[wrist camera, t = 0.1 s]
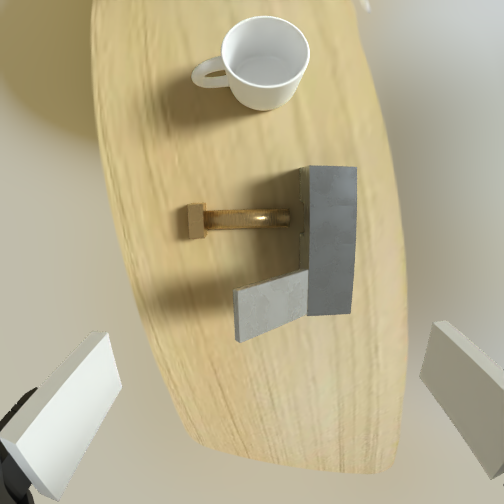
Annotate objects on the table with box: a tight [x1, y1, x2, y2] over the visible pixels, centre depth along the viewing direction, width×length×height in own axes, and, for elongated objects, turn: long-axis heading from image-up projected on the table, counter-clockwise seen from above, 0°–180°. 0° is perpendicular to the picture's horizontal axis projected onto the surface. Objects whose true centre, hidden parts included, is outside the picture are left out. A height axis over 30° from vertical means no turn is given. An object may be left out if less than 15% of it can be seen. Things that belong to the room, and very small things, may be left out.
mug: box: [191, 16, 310, 111], centre depth 29 cm, size 12×8×10 cm
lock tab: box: [233, 268, 308, 343], centre depth 29 cm, size 5×9×1 cm
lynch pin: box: [188, 203, 290, 239], centre depth 37 cm, size 12×4×2 cm, turn 91°
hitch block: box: [299, 166, 357, 316], centre depth 35 cm, size 16×5×7 cm, turn 1°
